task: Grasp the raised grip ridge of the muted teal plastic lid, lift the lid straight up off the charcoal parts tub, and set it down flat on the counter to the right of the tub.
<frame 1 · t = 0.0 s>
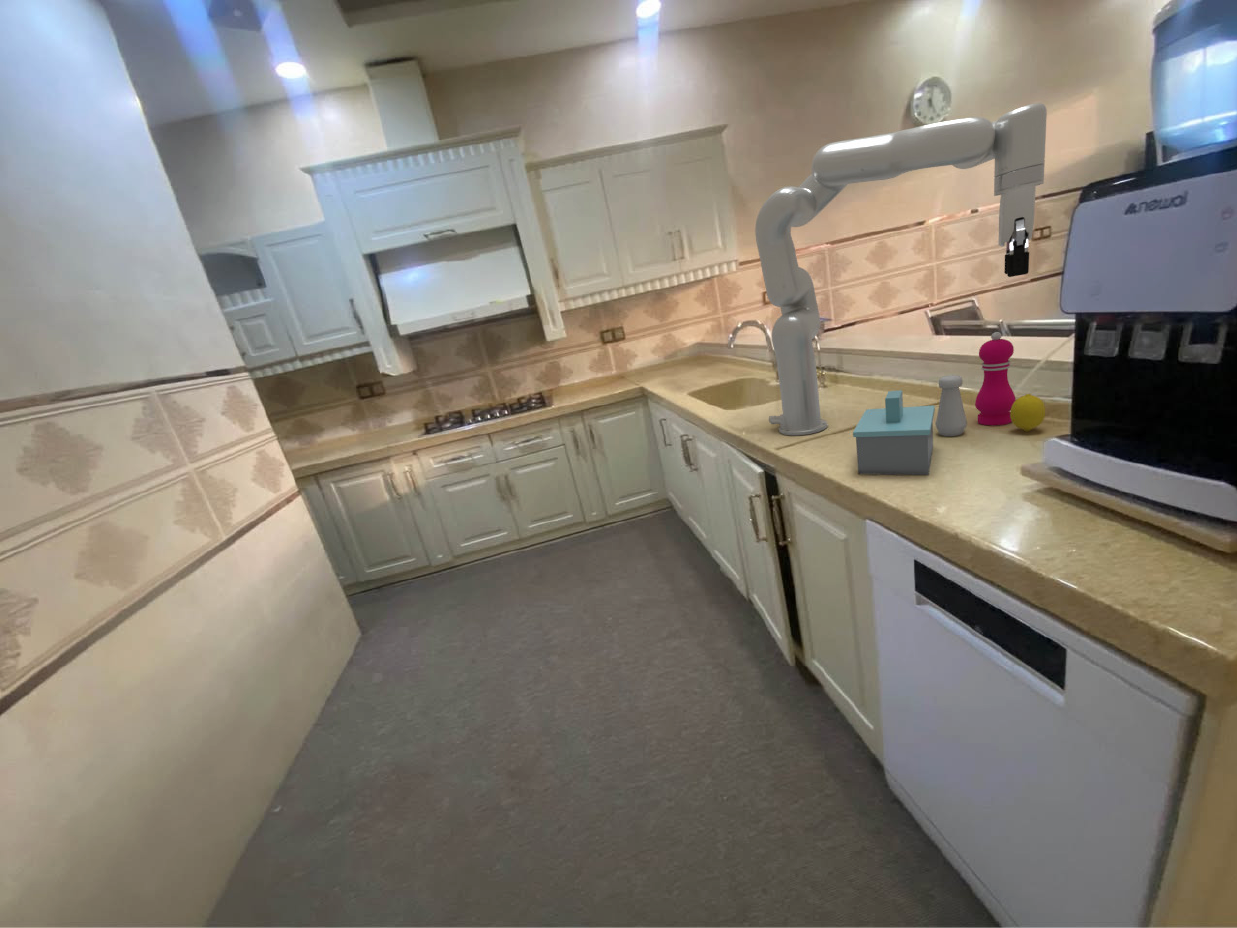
hand: (1015, 274, 100), 31 cm above the table, tool pointing down, fingers open, 9 cm apart
lid: (895, 428, 99), point 7 cm above the table, touching tub
lemon: (1026, 432, 102), on the table
tub: (896, 460, 101), on the table
salt shaker: (951, 434, 109), on the table
pepper mill: (994, 422, 111), on the table
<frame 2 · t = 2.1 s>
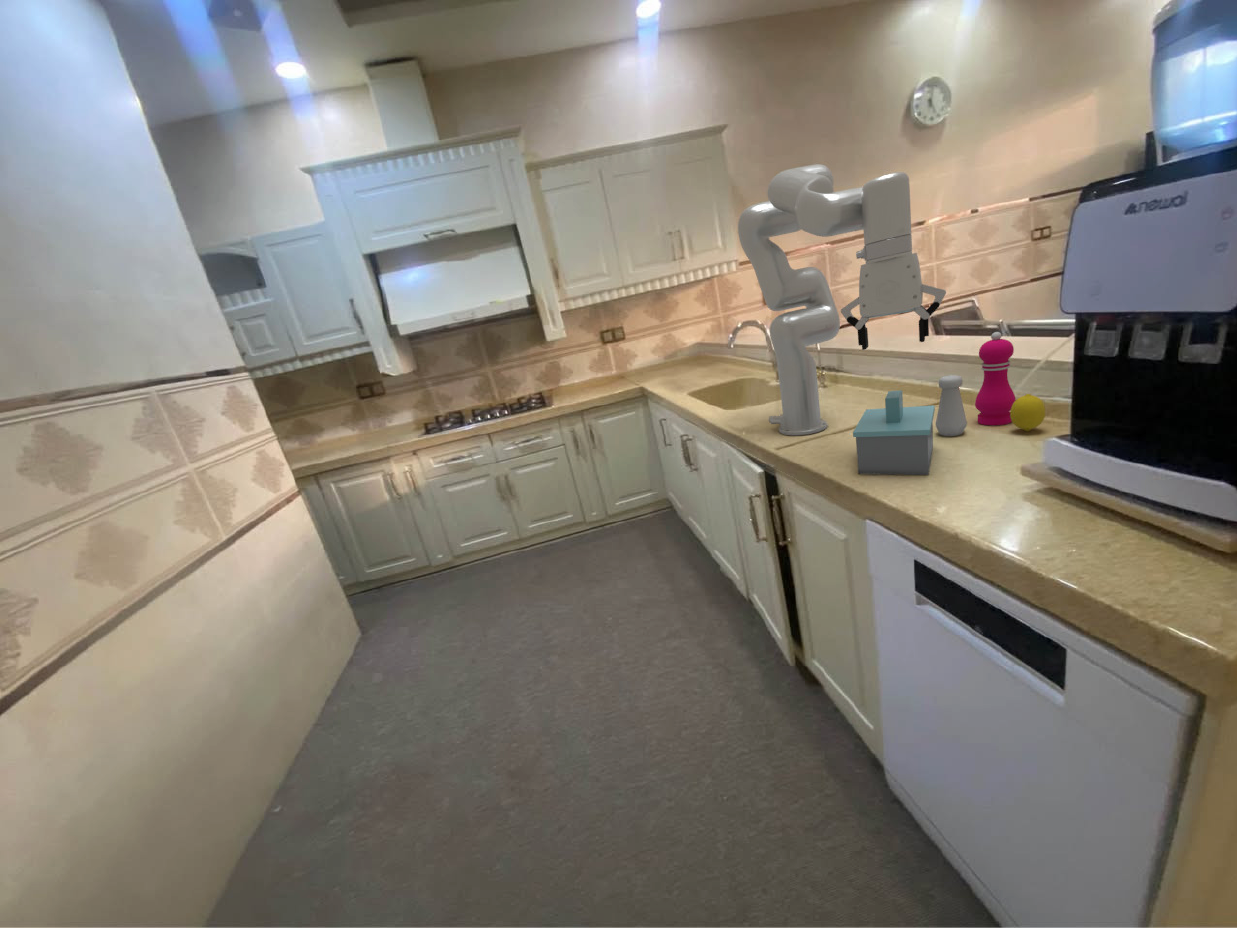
hand: (893, 344, 94), 24 cm above the table, tool pointing down, fingers open, 9 cm apart
nothing on the table moved.
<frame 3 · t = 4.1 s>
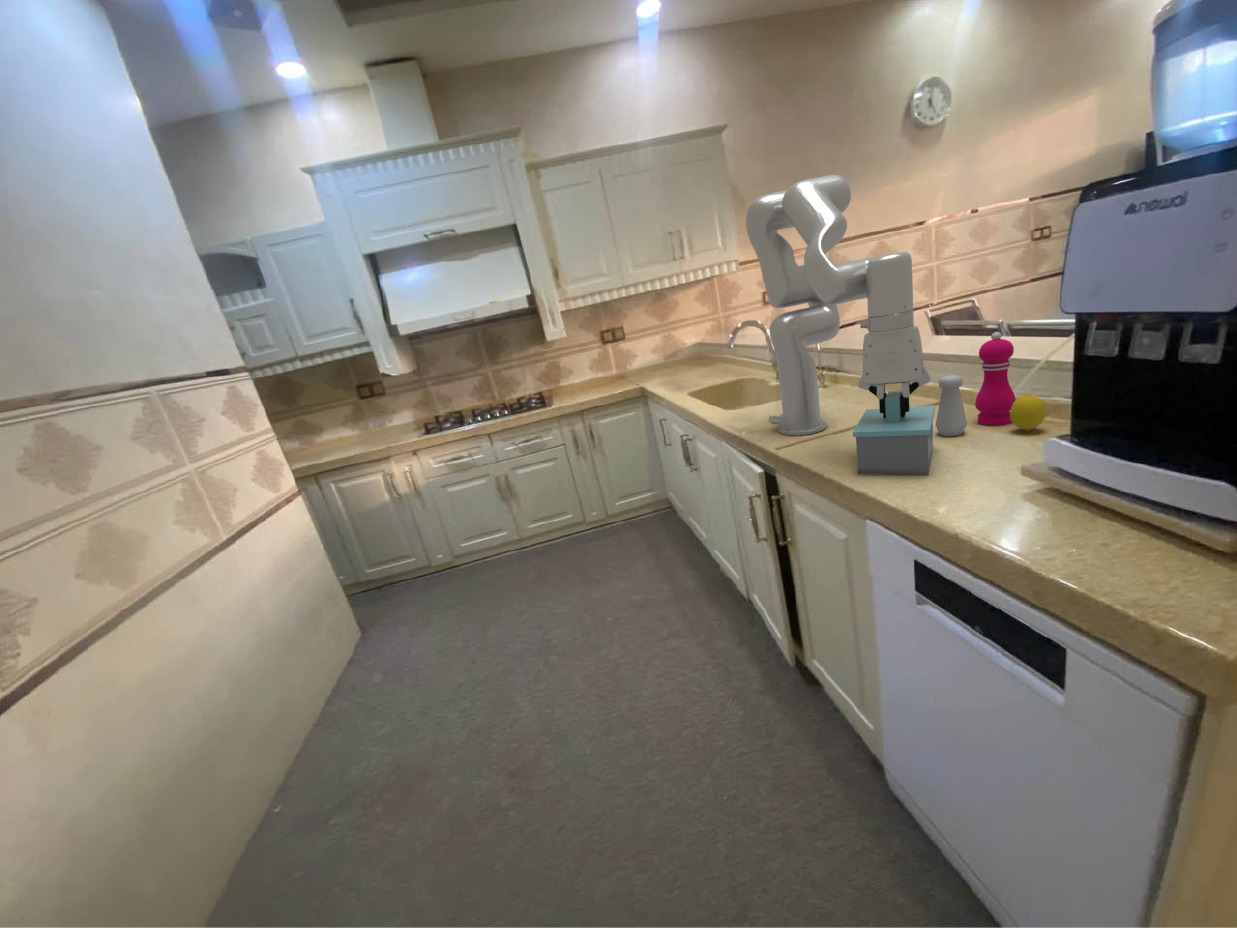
hand: (894, 415, 99), 10 cm above the table, tool pointing down, fingers closed on lid, 2 cm apart
lid: (895, 428, 99), point 7 cm above the table, touching gripper
everything else where it was.
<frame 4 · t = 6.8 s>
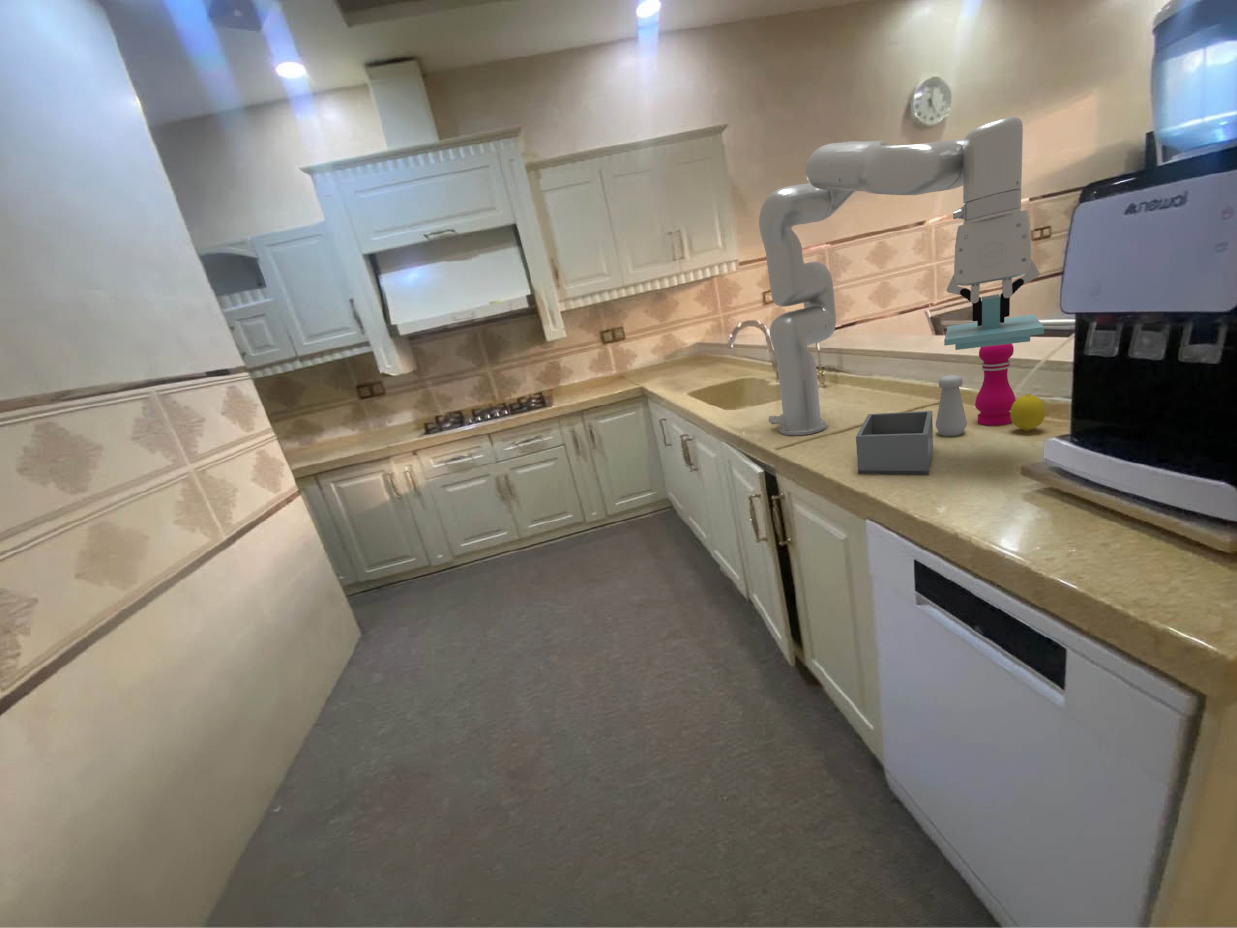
hand: (990, 322, 85), 26 cm above the table, tool pointing down, fingers closed on lid, 2 cm apart
lid: (990, 339, 86), point 23 cm above the table, touching gripper
everything else where it was.
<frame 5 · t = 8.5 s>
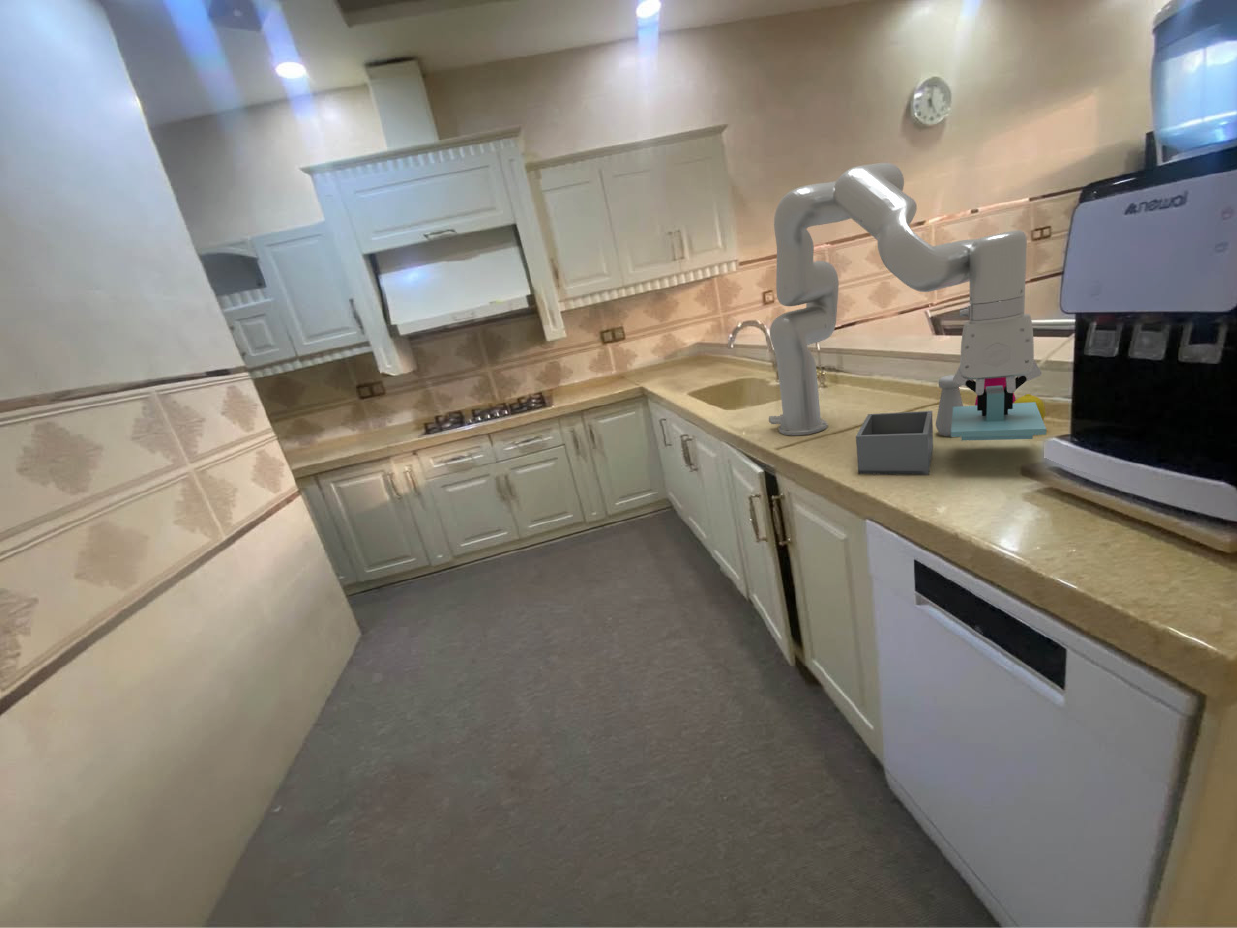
hand: (994, 412, 89), 9 cm above the table, tool pointing down, fingers closed on lid, 2 cm apart
lid: (994, 428, 90), point 6 cm above the table, touching gripper
everything else where it was.
when the fingers open (4 cm above the table, at t = 9.8 s): lid drops 2 cm, on the table.
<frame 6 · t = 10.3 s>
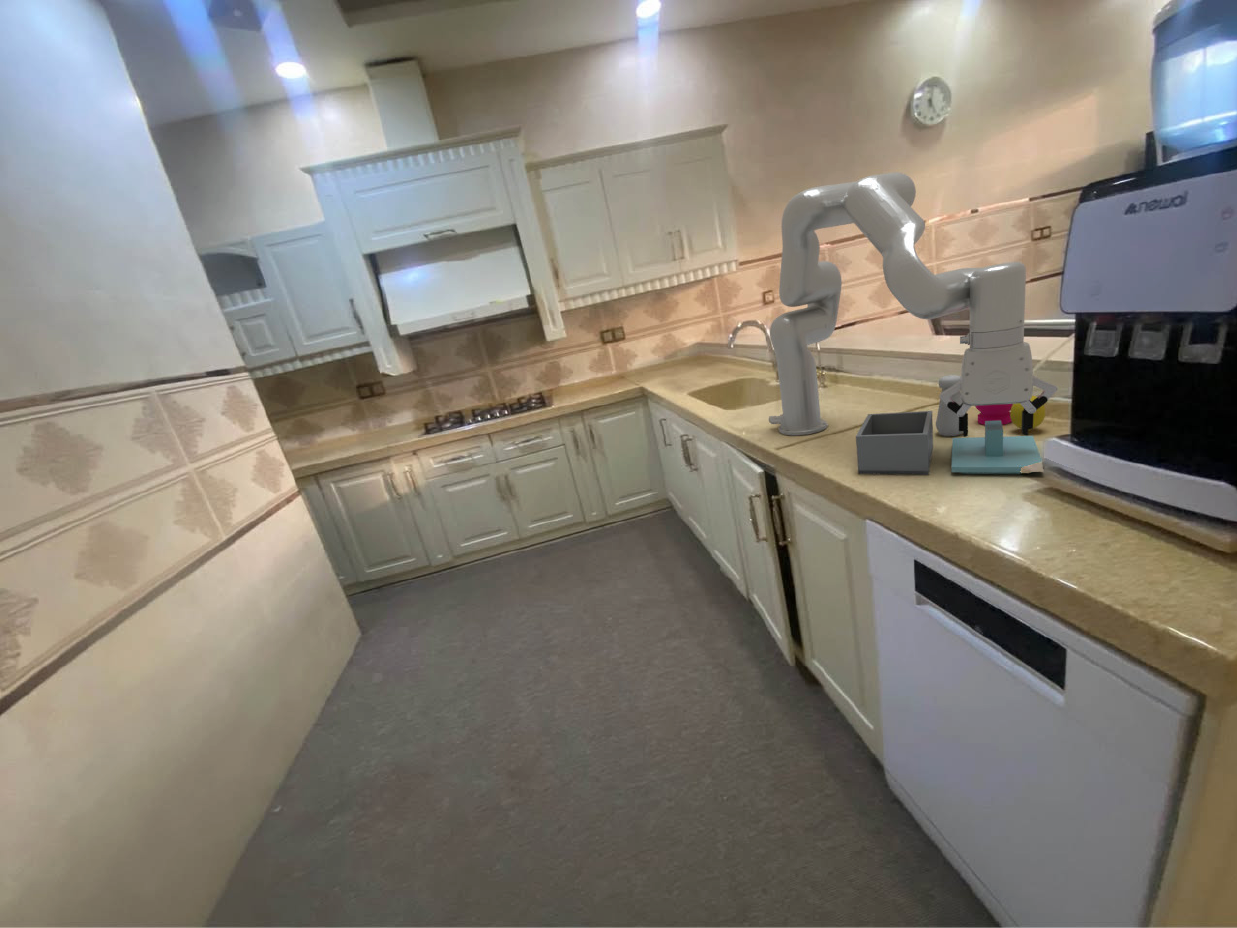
hand: (994, 433, 91), 5 cm above the table, tool pointing down, fingers open, 8 cm apart
lid: (993, 461, 92), on the table
everything else where it was.
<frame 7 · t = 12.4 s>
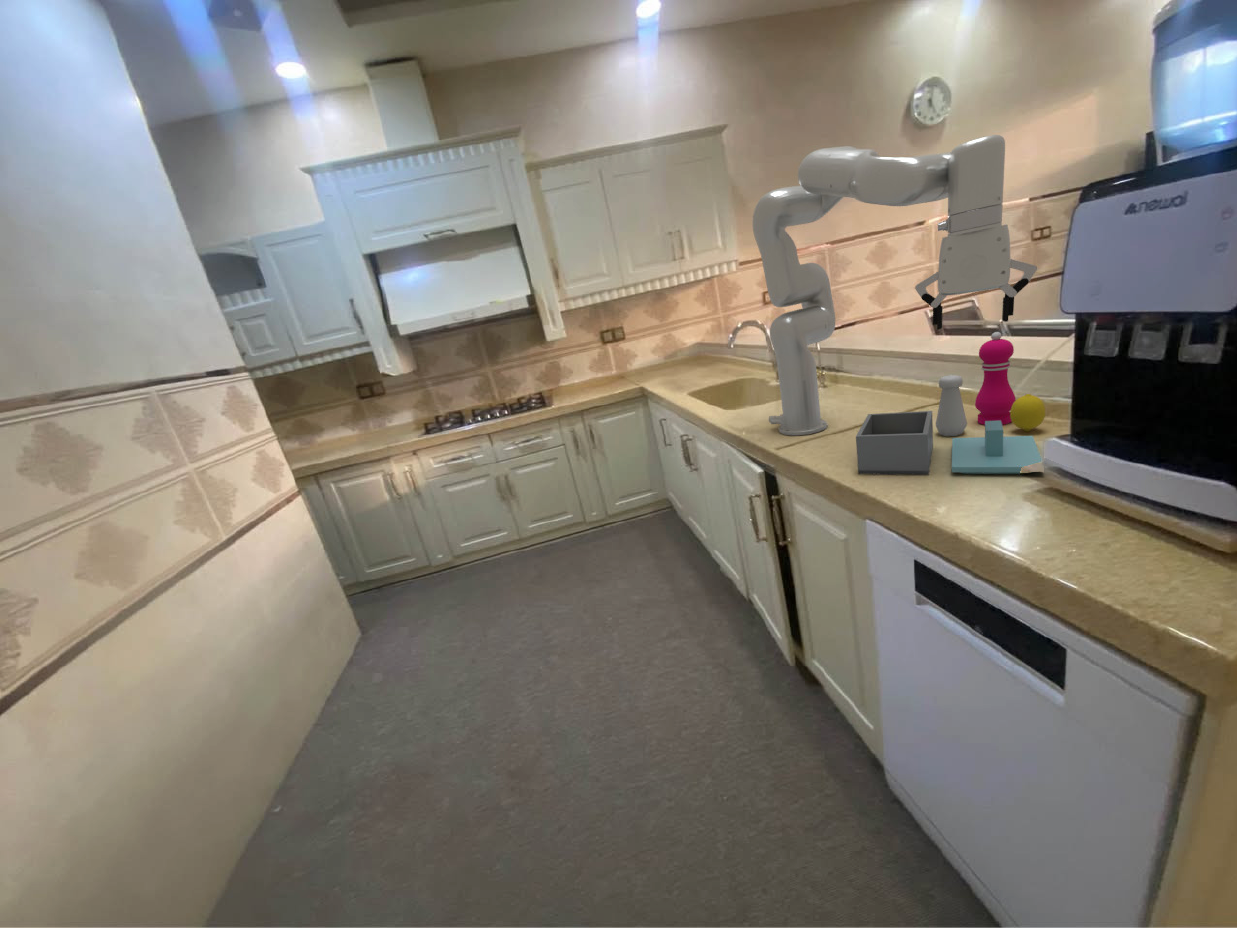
hand: (971, 324, 89), 25 cm above the table, tool pointing down, fingers open, 9 cm apart
nothing on the table moved.
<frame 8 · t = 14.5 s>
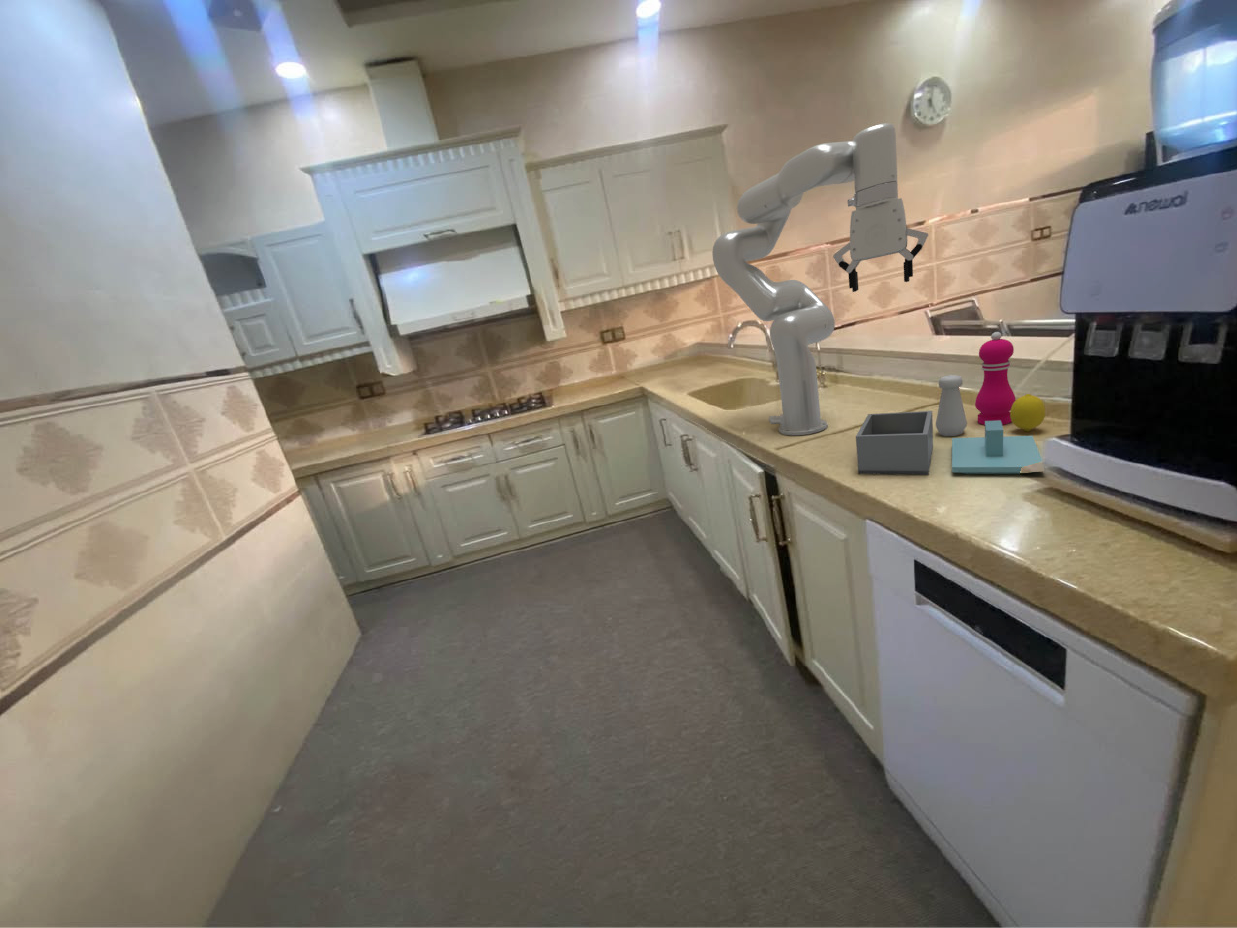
hand: (880, 286, 103), 34 cm above the table, tool pointing down, fingers open, 9 cm apart
nothing on the table moved.
at the end: lid touching table; lid inside the target area (0.1 cm from its centre), on the table; lid tilted 0° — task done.
